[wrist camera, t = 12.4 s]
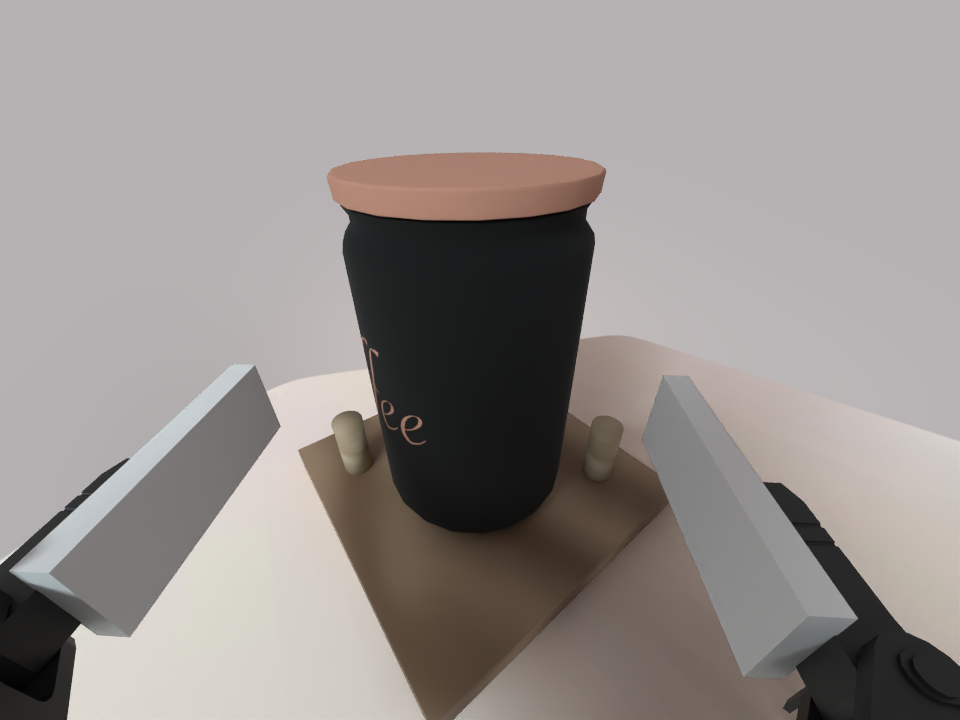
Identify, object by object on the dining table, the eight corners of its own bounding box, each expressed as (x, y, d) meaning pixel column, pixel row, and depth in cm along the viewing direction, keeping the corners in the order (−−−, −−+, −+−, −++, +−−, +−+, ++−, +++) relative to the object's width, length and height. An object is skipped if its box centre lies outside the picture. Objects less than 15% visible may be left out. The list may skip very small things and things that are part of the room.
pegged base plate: (494, 374, 36) (495, 324, 33) (669, 501, 24) (696, 441, 21) (303, 464, 27) (280, 407, 24) (434, 738, 15) (421, 693, 12)
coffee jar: (401, 418, 29) (356, 154, 19) (537, 409, 29) (562, 150, 19) (383, 554, 20) (279, 192, 10) (577, 536, 21) (663, 182, 11)
